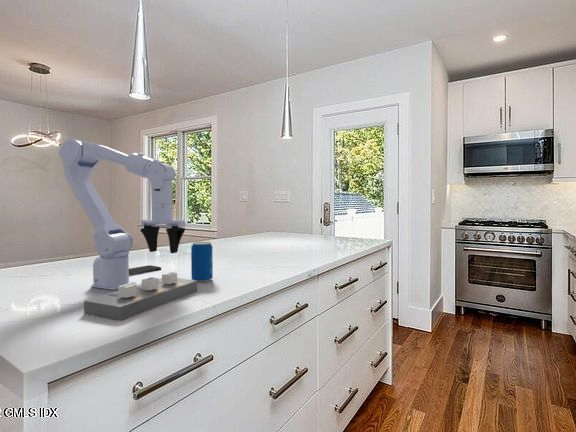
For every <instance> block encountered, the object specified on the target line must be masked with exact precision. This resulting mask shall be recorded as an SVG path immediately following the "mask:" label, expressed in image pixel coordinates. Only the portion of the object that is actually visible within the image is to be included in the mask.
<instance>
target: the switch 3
mask: <svg viewBox="0 0 576 432" xmlns="http://www.w3.org/2000/svg"><path fill="white" fill-rule="evenodd" d="M161 278H162V283H164V284H172V283H175V282H177V278H178V272H174V271H172V272H171V271H169V272H165V273H162V274H161Z"/></svg>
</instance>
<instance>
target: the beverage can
mask: <svg viewBox="0 0 576 432" xmlns="http://www.w3.org/2000/svg"><path fill="white" fill-rule="evenodd" d="M190 247H191V249H190V250H191V252H190V253H191V257H190V258H191V260H190V261H191V265H190V268H191V271H190V273H191V280H197V283H208V282H210V281H211V280H212V279H213V275H214V273H213V270H214V269H213V268H214V267H213V245H212V242H210V241H195V242H192V245H191V246H190Z"/></svg>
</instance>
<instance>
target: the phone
mask: <svg viewBox="0 0 576 432" xmlns="http://www.w3.org/2000/svg"><path fill="white" fill-rule="evenodd" d="M161 270H162V267H160V266H157V265H149V264H148V265H143V266H138V267H131V268H130V267H129V277H131V276H137V275H141V274H147V273H150V272H156V271H161Z"/></svg>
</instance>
